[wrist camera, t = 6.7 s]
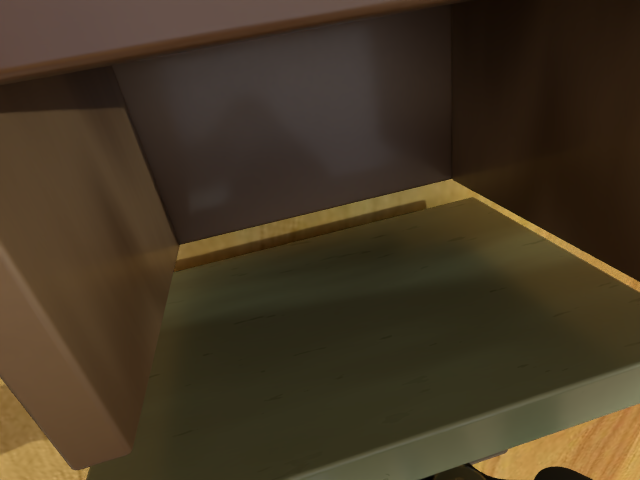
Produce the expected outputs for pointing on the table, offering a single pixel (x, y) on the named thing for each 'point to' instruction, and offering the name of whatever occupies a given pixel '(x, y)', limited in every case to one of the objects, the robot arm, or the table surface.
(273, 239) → the table surface
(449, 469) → the robot arm
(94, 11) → the cabinet
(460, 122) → the drawer
